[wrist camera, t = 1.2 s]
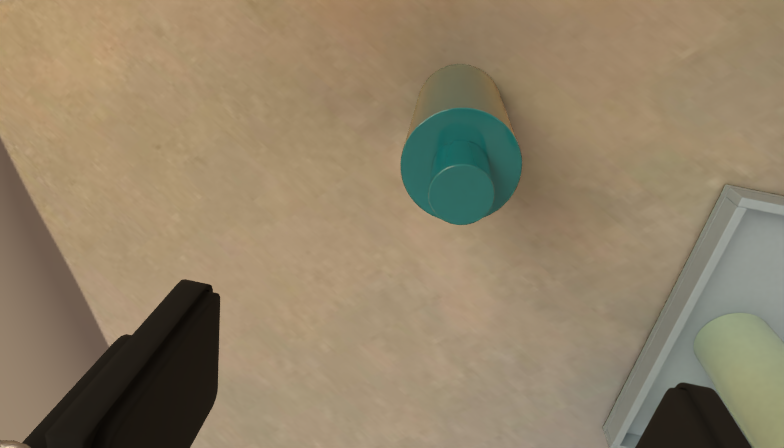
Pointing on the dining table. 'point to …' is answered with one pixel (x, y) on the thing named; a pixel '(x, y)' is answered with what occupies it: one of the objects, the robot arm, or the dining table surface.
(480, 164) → the loose bottle
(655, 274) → the dining table surface
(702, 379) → the tray
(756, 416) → the bottle
